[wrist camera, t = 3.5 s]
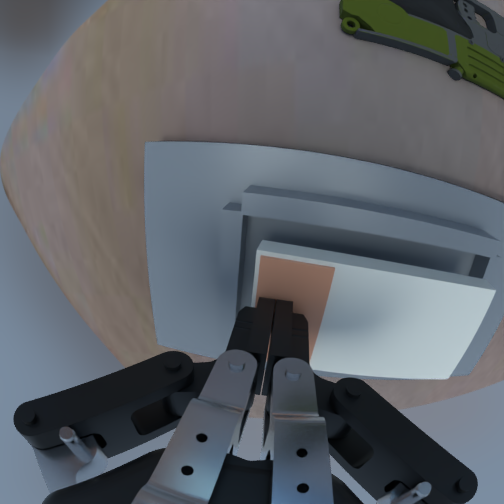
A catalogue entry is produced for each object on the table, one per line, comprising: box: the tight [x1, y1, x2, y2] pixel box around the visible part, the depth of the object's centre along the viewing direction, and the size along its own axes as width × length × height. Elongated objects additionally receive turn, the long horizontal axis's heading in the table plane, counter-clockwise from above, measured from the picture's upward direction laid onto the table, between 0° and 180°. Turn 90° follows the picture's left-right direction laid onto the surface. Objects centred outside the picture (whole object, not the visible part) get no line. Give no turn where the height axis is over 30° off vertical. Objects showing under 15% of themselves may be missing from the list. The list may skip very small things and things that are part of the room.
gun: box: [339, 0, 504, 98], centre depth 7 cm, size 2×19×15 cm
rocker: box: [251, 240, 496, 379], centre depth 12 cm, size 12×6×1 cm, turn 85°
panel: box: [144, 141, 504, 380], centre depth 14 cm, size 26×14×4 cm, turn 85°
